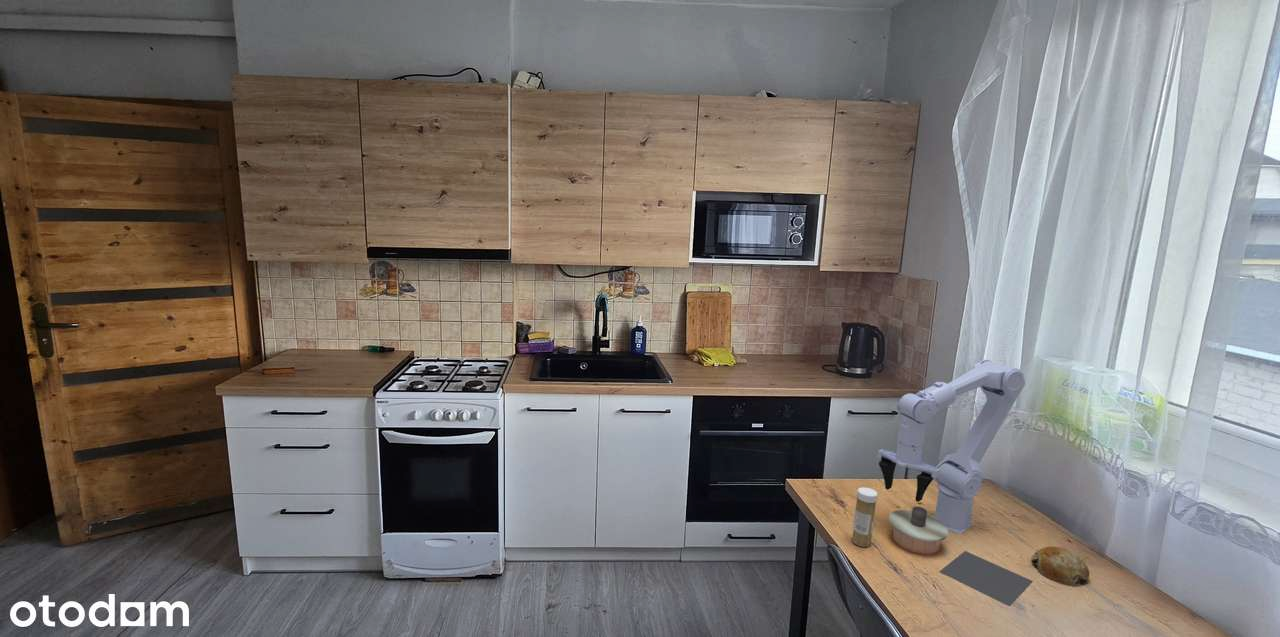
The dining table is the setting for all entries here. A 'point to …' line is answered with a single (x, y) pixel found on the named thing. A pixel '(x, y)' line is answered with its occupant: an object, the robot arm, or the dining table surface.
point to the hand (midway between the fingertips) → (903, 494)
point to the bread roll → (1061, 566)
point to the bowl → (916, 543)
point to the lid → (918, 524)
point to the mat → (987, 577)
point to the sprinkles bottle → (864, 517)
